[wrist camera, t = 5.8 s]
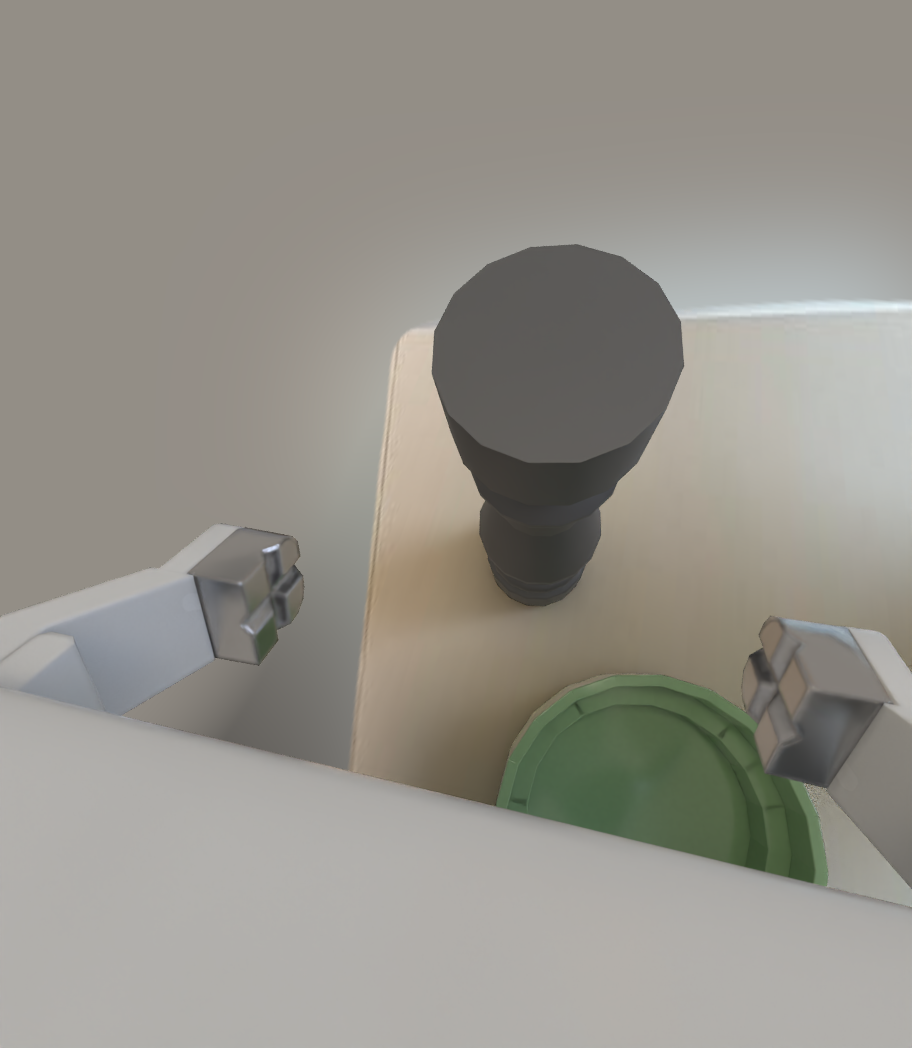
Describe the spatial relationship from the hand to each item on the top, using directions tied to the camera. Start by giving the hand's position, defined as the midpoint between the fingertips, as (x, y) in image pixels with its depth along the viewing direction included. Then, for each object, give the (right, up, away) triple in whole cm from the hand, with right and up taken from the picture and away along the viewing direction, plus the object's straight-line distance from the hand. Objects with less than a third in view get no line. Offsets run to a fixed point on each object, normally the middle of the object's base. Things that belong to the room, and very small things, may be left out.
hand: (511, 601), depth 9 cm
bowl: (+9, -16, +22) cm, 29 cm away
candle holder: (+4, -1, +27) cm, 27 cm away
